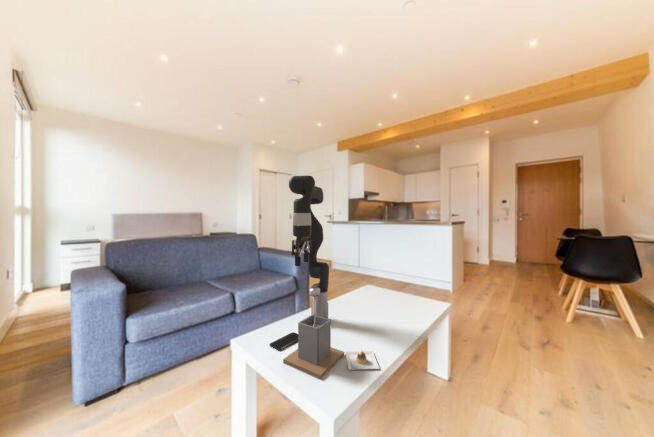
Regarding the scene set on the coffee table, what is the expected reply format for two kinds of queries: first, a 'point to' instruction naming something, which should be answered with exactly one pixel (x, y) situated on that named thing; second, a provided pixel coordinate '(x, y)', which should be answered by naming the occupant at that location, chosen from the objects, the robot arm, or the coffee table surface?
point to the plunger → (314, 304)
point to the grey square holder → (314, 348)
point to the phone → (285, 341)
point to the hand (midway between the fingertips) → (302, 263)
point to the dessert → (361, 359)
